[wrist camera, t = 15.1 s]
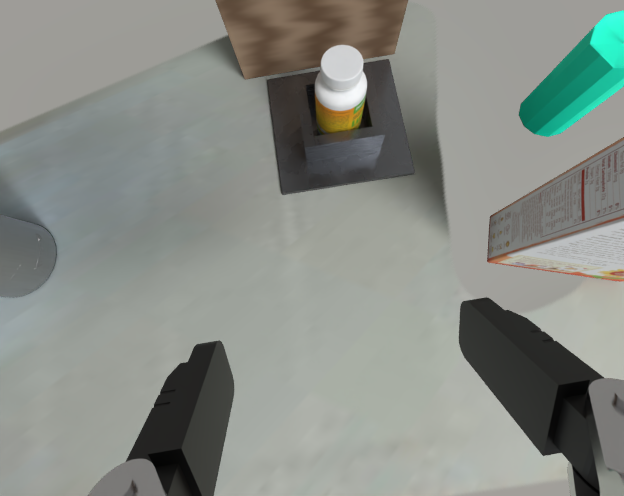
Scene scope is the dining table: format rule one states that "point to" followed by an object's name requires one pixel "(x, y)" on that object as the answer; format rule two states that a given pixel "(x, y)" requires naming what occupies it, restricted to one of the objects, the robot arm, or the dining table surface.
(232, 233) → the dining table surface
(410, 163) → the socket
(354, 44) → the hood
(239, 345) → the dining table surface
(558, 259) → the cracker box
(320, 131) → the supplement bottle
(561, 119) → the candle
